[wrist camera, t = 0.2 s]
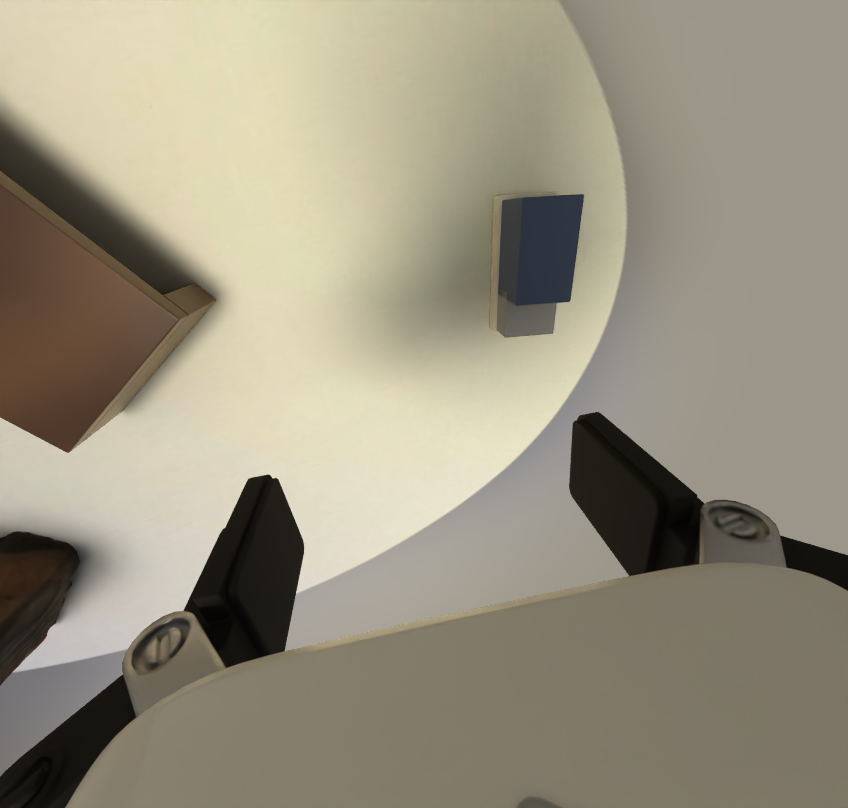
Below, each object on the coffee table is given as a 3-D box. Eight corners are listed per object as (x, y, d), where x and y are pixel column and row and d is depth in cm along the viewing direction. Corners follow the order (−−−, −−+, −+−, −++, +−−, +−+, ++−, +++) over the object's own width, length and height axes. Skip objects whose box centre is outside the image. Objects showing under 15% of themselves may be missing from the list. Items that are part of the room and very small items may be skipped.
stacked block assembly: (493, 195, 25) (520, 191, 20) (550, 193, 25) (589, 187, 21) (488, 327, 29) (510, 347, 24) (538, 323, 29) (568, 342, 25)
